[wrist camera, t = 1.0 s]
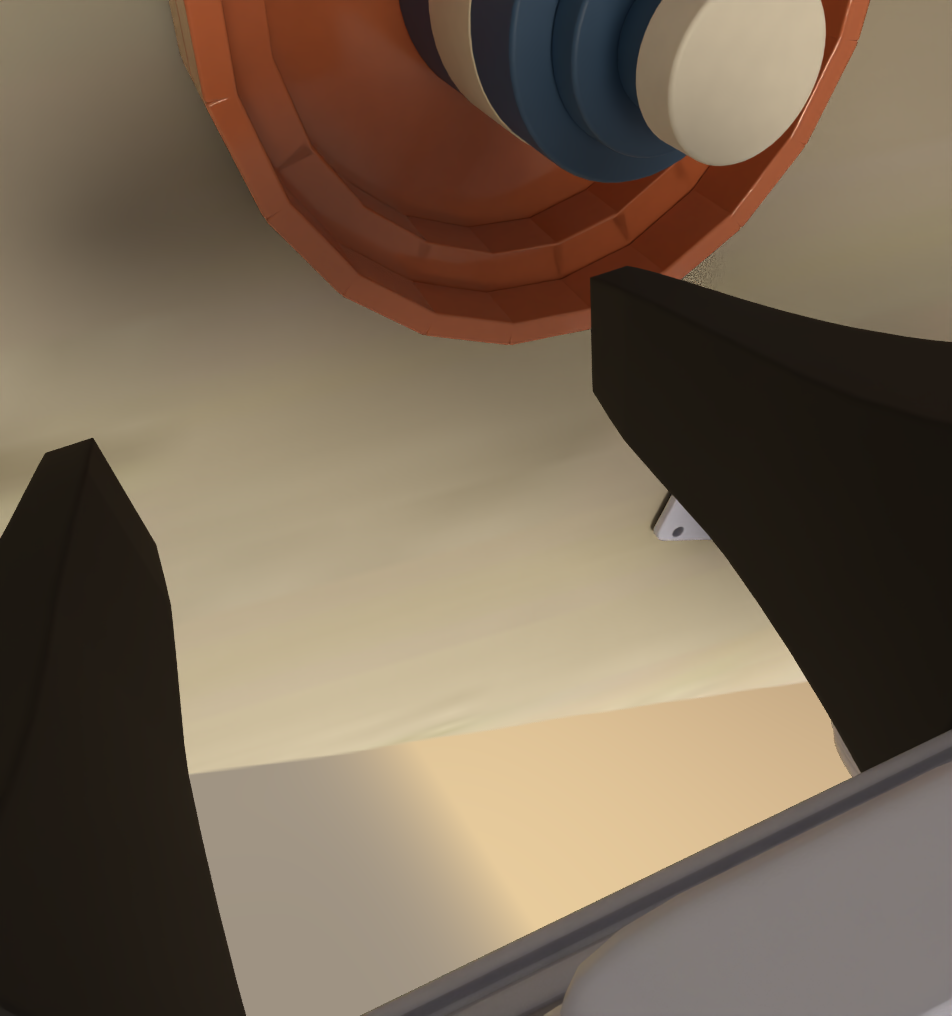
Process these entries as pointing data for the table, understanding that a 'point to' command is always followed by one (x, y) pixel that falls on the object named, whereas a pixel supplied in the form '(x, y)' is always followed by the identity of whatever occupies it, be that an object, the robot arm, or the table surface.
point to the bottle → (628, 75)
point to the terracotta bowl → (449, 172)
